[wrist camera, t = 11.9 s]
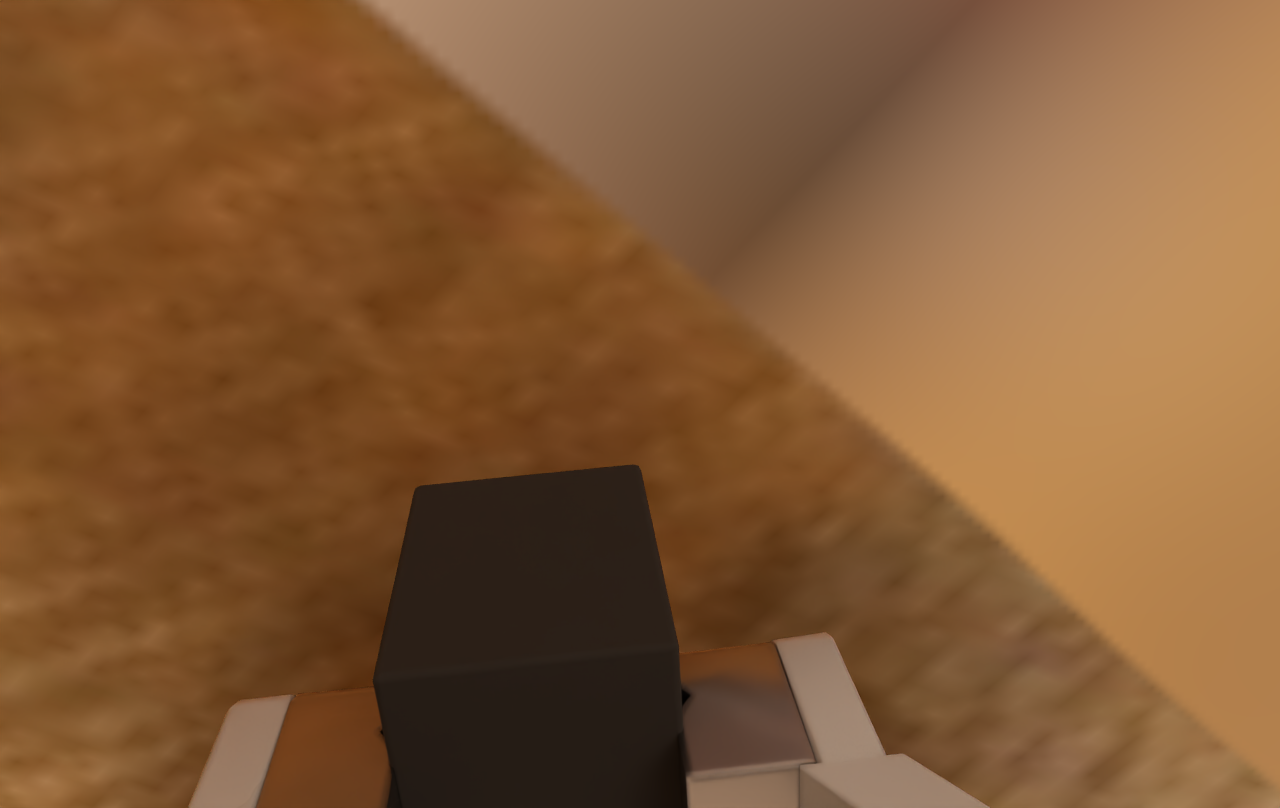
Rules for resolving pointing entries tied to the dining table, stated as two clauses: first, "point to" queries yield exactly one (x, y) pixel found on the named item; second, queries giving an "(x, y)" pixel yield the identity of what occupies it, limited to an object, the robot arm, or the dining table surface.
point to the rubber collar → (532, 647)
